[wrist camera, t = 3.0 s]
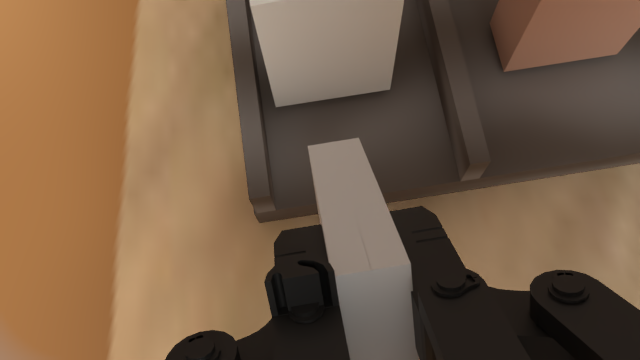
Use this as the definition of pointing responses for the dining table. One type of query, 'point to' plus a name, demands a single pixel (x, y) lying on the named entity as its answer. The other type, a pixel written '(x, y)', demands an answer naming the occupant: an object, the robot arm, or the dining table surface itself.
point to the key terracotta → (561, 30)
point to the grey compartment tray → (439, 114)
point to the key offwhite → (327, 46)
